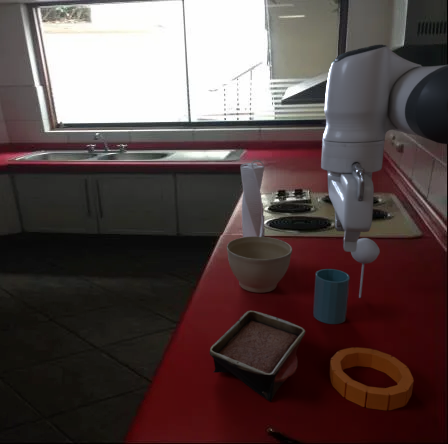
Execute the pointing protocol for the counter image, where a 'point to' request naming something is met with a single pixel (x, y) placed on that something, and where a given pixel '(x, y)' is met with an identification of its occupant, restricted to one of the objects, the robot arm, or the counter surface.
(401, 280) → the counter surface
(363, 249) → the lollipop
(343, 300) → the cup
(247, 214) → the skyscraper
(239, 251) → the planter bowl
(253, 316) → the baking dish
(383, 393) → the ring
